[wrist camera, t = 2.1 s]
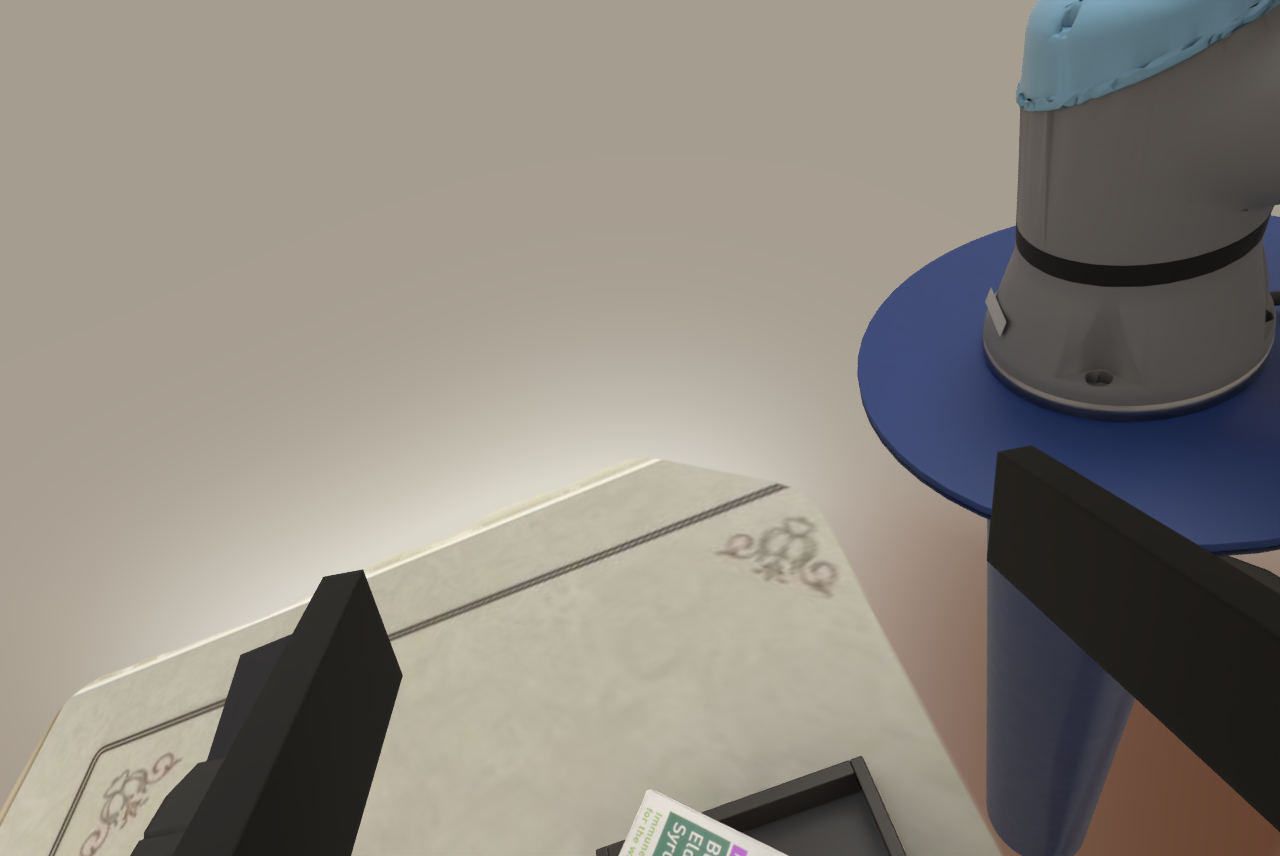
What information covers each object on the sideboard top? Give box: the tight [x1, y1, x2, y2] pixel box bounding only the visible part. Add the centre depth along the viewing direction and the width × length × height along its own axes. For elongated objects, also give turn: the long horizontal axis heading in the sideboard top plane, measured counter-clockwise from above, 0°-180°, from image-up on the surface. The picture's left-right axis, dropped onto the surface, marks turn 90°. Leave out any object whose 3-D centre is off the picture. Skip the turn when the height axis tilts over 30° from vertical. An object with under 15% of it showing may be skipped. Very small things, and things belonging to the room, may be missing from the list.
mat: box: [207, 634, 292, 761], centre depth 48 cm, size 9×9×1 cm
